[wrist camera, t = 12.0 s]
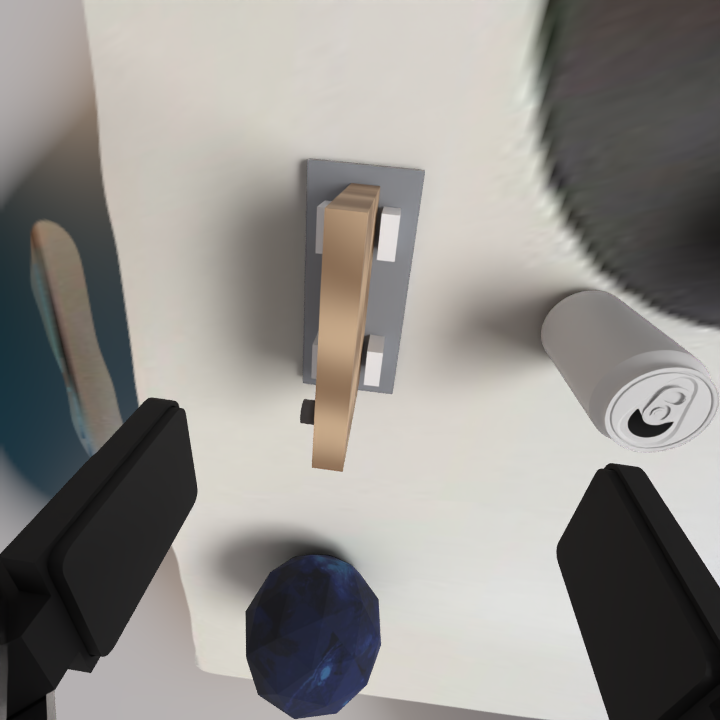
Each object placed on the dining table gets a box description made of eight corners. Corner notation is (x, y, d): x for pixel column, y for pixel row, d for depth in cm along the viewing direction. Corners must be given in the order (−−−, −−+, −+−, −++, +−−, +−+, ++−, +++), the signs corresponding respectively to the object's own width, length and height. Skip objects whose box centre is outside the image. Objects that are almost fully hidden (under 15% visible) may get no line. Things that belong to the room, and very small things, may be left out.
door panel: (334, 181, 29) (299, 205, 19) (380, 186, 29) (367, 212, 19) (322, 377, 37) (293, 464, 27) (359, 382, 36) (342, 471, 27)
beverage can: (522, 345, 34) (574, 438, 24) (567, 274, 31) (649, 345, 21) (592, 370, 35) (672, 472, 24) (642, 303, 32) (758, 387, 21)
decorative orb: (390, 560, 41) (271, 709, 32) (421, 646, 47) (329, 788, 39) (302, 505, 51) (192, 608, 42) (337, 582, 57) (249, 684, 49)
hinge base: (310, 158, 29) (297, 162, 26) (424, 170, 29) (427, 175, 25) (305, 377, 38) (294, 402, 34) (392, 388, 38) (391, 414, 34)
